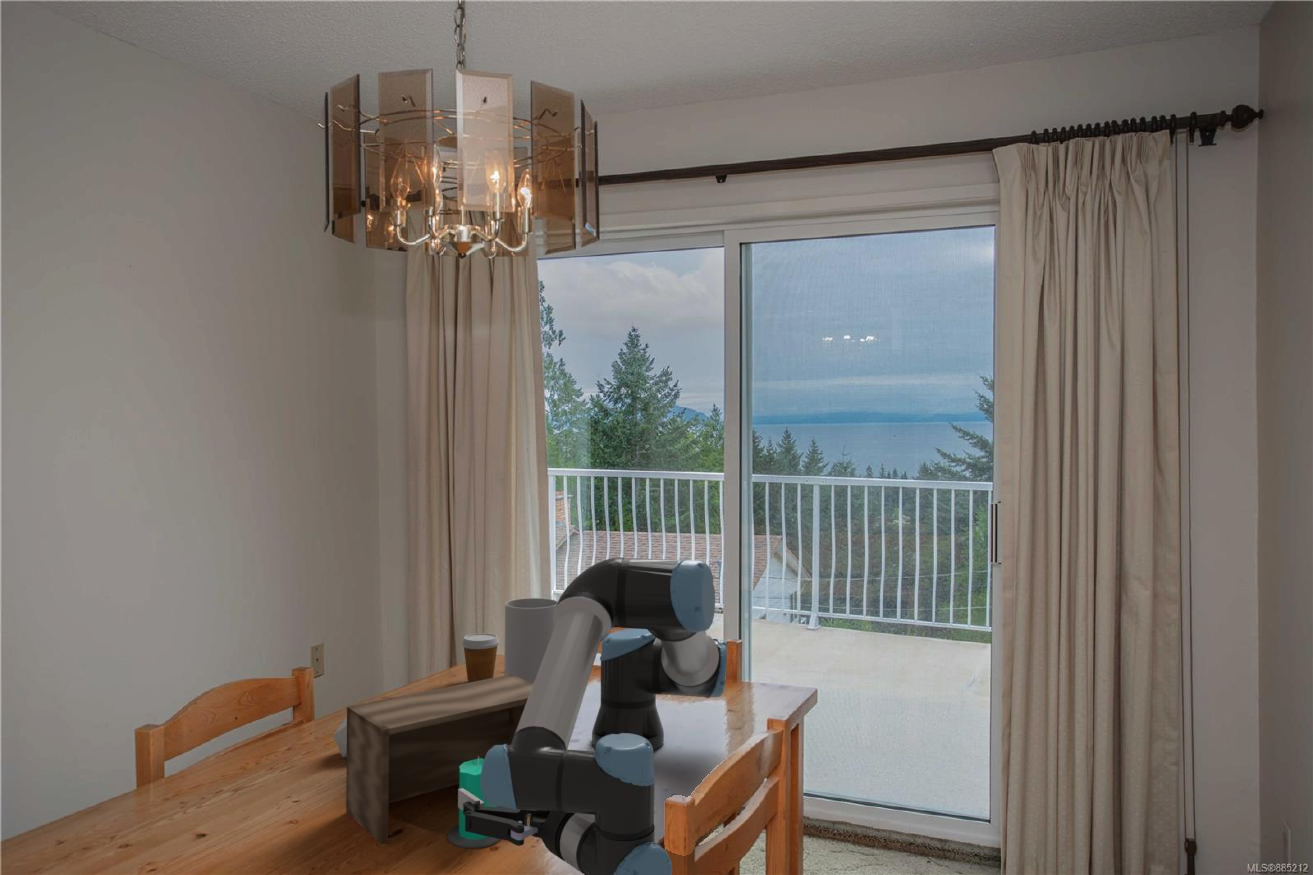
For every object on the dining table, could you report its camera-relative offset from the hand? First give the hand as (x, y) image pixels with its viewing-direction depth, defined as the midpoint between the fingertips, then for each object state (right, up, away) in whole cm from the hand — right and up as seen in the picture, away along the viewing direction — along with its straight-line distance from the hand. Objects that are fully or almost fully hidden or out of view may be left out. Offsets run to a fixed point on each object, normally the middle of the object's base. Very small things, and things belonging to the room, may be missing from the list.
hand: (500, 785), depth 134 cm
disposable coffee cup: (-22, -10, +91) cm, 94 cm away
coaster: (-5, -10, +6) cm, 13 cm away
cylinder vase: (-5, -10, +70) cm, 71 cm away
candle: (-5, -10, +6) cm, 12 cm away
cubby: (-12, -10, +18) cm, 24 cm away
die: (-36, -10, +40) cm, 55 cm away
